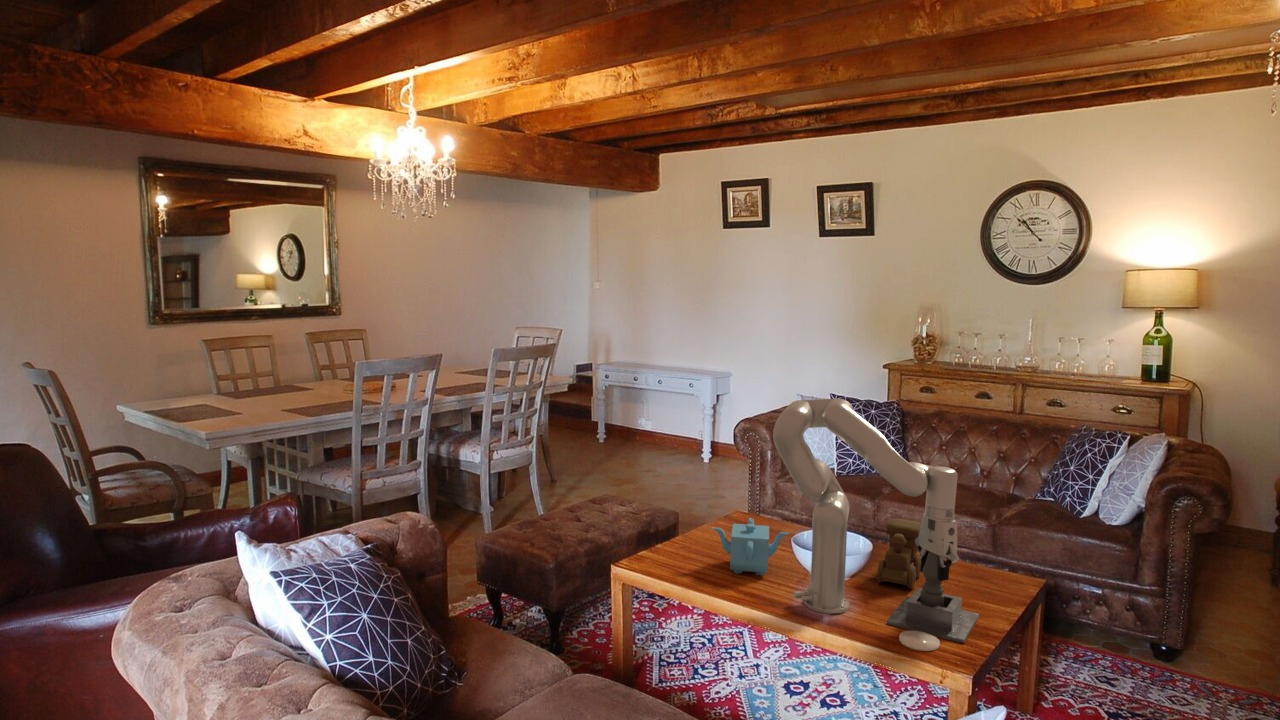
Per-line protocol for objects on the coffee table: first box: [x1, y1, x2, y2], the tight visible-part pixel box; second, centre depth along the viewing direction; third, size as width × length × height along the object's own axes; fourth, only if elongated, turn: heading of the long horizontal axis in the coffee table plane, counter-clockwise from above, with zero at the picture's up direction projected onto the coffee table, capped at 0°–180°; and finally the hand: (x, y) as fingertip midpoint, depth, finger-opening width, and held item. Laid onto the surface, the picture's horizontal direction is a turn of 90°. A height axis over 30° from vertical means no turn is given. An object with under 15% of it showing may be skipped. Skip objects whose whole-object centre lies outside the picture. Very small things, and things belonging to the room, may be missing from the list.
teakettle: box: [711, 517, 790, 576], centre depth 255 cm, size 19×19×15 cm
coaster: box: [898, 630, 941, 652], centre depth 205 cm, size 10×10×1 cm
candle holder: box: [920, 518, 945, 607], centre depth 217 cm, size 6×6×25 cm
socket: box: [886, 587, 980, 644], centre depth 218 cm, size 20×20×6 cm
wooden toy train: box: [876, 518, 922, 589], centre depth 248 cm, size 20×11×17 cm, turn 151°
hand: (934, 575), depth 217 cm, fingers closed on candle holder, 5 cm apart
